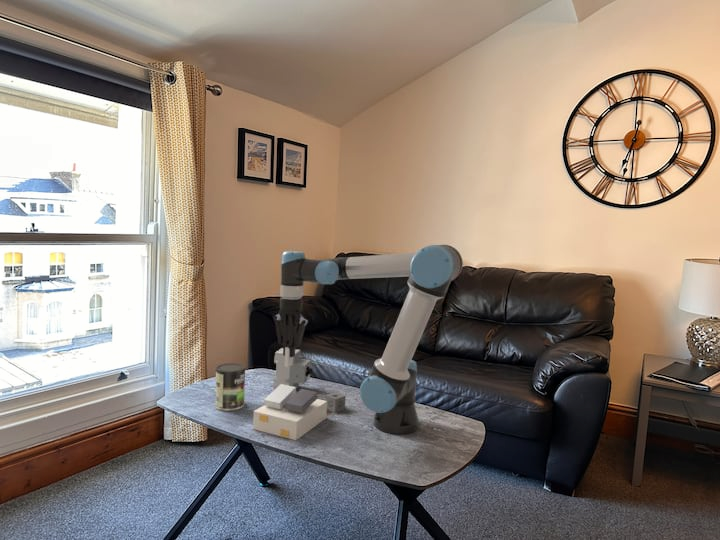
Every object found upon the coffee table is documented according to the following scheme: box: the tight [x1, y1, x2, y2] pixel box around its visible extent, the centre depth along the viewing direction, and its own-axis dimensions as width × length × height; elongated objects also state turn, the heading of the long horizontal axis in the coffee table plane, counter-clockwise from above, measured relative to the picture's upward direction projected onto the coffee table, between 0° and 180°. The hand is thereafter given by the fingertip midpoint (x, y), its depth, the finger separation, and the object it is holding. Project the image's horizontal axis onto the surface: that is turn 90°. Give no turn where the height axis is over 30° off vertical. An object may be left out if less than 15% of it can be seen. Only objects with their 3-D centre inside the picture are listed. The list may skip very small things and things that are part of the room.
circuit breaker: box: [272, 347, 314, 390], centre depth 197 cm, size 8×14×15 cm, turn 78°
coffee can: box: [214, 362, 246, 412], centre depth 176 cm, size 10×10×14 cm
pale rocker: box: [263, 384, 297, 410], centre depth 164 cm, size 6×10×2 cm, turn 156°
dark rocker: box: [285, 388, 318, 413], centre depth 161 cm, size 6×10×2 cm, turn 156°
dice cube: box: [325, 391, 347, 413], centre depth 179 cm, size 5×5×5 cm
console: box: [252, 398, 328, 441], centre depth 164 cm, size 16×20×7 cm
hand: (288, 365), depth 168 cm, fingers closed
